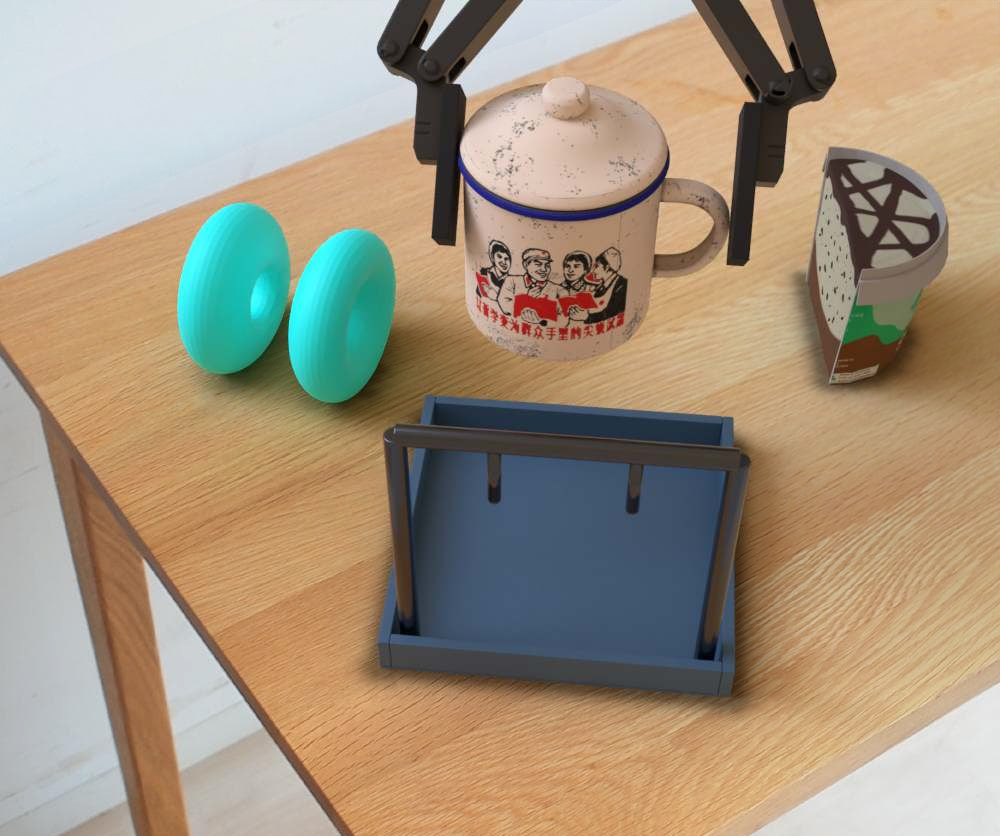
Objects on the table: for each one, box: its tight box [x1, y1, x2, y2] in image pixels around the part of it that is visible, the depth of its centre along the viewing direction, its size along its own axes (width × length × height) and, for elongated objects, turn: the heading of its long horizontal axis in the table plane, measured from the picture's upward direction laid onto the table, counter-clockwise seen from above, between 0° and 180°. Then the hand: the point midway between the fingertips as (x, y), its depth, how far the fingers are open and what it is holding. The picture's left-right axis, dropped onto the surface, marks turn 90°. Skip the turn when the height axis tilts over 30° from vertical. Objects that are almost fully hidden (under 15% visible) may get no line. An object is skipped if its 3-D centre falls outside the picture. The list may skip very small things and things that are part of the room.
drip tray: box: [376, 394, 736, 698], centre depth 76 cm, size 17×17×3 cm
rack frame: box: [382, 422, 753, 661], centre depth 66 cm, size 15×1×16 cm, turn 84°
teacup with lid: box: [457, 76, 731, 363], centre depth 64 cm, size 12×9×12 cm
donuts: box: [176, 202, 397, 404], centre depth 83 cm, size 10×10×10 cm
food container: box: [805, 145, 950, 386], centre depth 85 cm, size 12×6×10 cm, turn 0°
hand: (589, 253), depth 62 cm, fingers closed on teacup with lid, 12 cm apart
